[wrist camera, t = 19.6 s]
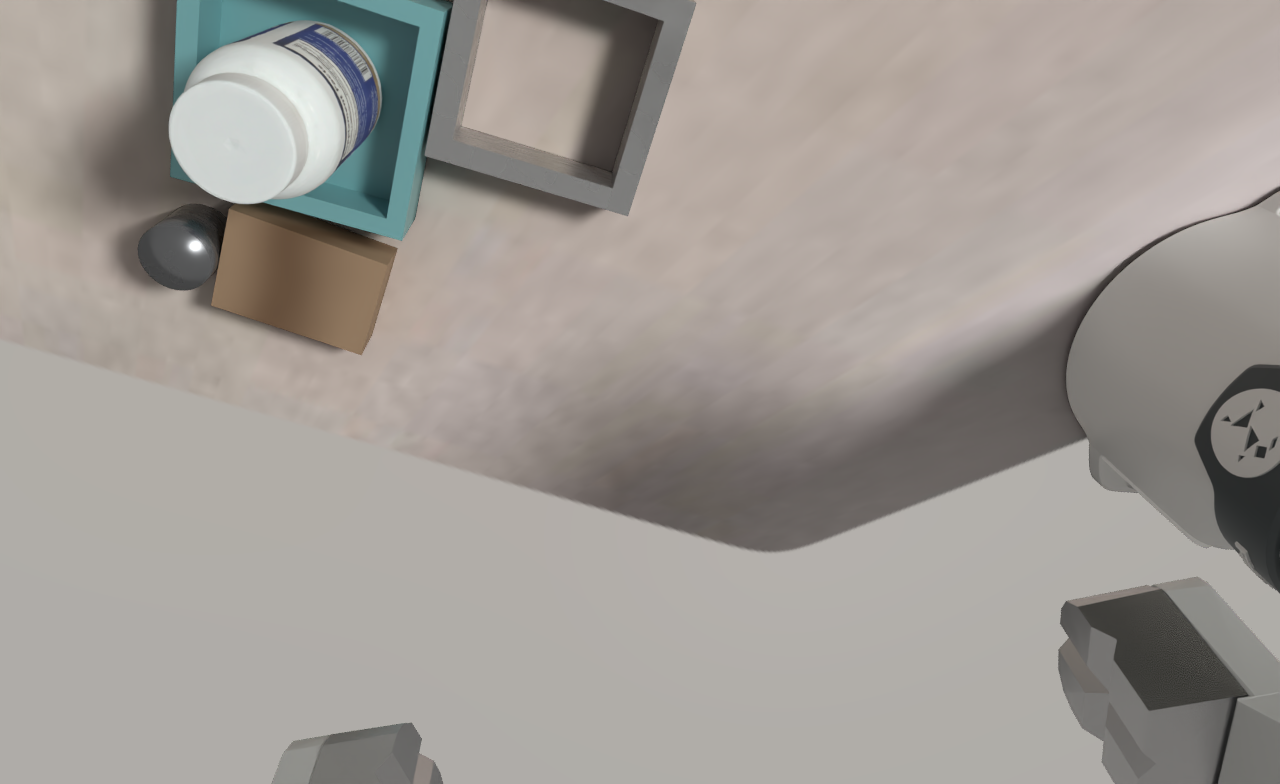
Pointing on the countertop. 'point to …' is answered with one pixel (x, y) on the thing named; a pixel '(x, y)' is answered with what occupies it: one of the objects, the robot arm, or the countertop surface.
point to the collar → (541, 168)
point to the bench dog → (183, 247)
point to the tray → (409, 74)
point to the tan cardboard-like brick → (302, 275)
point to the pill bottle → (275, 112)
